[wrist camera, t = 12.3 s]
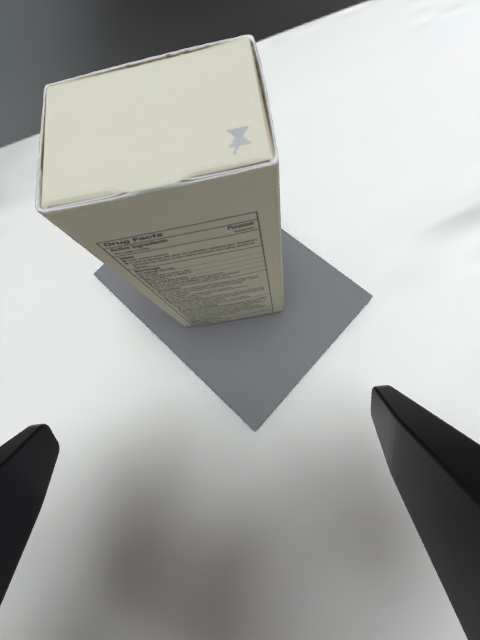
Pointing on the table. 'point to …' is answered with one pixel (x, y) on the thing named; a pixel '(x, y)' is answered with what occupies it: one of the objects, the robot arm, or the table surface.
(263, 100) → the skincare box
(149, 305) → the mat
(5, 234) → the table surface
